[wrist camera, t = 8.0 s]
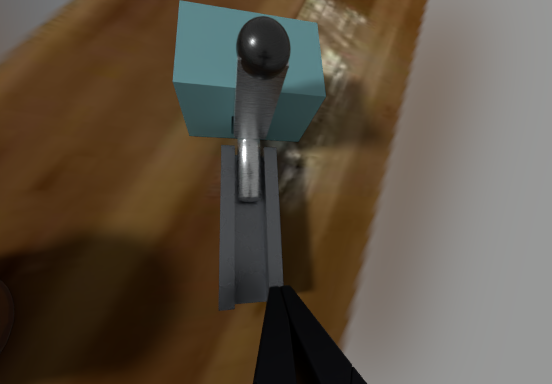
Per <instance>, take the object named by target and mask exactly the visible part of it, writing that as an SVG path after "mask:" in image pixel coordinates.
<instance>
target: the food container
mask: <svg viewBox="0 0 552 384" xmlns="http://www.w3.org/2000/svg"><path fill="white" fill-rule="evenodd" d="M13 322H14V303H13V299H12V295H11V293H10V291H9V289H8V287H7V286H6V285H5V284H4V283H3V281H2V280H0V352H1V351H2V349H3V348H4V346H5V345H6V343H7V341H8V338H9V335H10V332H11V328H12V325H13Z"/></svg>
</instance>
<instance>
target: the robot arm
mask: <svg viewBox="0 0 552 384" xmlns="http://www.w3.org/2000/svg"><path fill="white" fill-rule="evenodd" d="M253 384H367V383H366V382H365V381H364V379H363V378H362V377H361V375H360V374H359V373H358V372H357V370H356V369H355V368H354V367H352V364H351V363H350V361H349V360H348V359H347V358H346V356H345V355H344V354H343V352H342V351H341V350H340V349H339V347H338V346H337V345H336V343H335V342H334V341H333V340H332V338H331V337H330V336H329V334H328V333H327V332H326V331H325V329H324V328H323V327H322V325H321V324H320V323H319V322H318V320H317V319H316V318H315V317H314V315H313V314H312V313H311V311H310V310H309V309H308V308H307V306H306V305H305V304H304V302H303V301H302V300H301V299H300V297H299V296H298V295H297V293H296V292H295V291H294V290H293V288H292V287H291V286H290V285H283V286H280V287H279V286H271V287H270V288H269V293H268V298H267V304H266V310H265V316H264V322H263V327H262V333H261V339H260V345H259V351H258V357H257V362H256V368H255V374H254V380H253Z"/></svg>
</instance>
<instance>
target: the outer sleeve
mask: <svg viewBox="0 0 552 384" xmlns="http://www.w3.org/2000/svg"><path fill="white" fill-rule="evenodd" d="M260 161H261V193H262V199H261V200H259V201H254V202H244V201H239V200H238V155H235V146H230V145H221V204H220V264H219V311H220V310H231V309H235V304H241V303H253V302H264V301H266V302H267V298H268V293H269V288H270V287H271V286H279V287H280V286H283V268H282V248H281V229H280V210H279V190H278V171H277V152H276V148H272V147H264V149H263V152H262V155H261V156H260Z"/></svg>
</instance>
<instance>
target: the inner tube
mask: <svg viewBox="0 0 552 384" xmlns="http://www.w3.org/2000/svg"><path fill="white" fill-rule="evenodd" d="M290 53H291V46H290V40H289V37H288V34H287V32H286V30H285V29H284V27H283V26H282V25H281V24H280V23H279V22H278V21H276V20H275V19H273V18H270V17H266V16H259V17H255V18H253V19H251V20H249V21H248V22H246V23H245V24H244V25H243V27H242V28H241V30H240V32H239V34H238V36H237V40H236V54H237V58H236V80H235V102H234V138H237V139H238V200H239V201H244V202H254V201H259V200H261V199H262V193H261V161H260V139H266V136H267V133H268V130H269V127H270V124H271V121H272V118H273V115H274V111H275V108H276V105H277V102H278V99H279V96H280V93H281V90H282V86H283V83H284V80H285V77H286V74H287V71H288V68H289V59H290Z"/></svg>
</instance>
